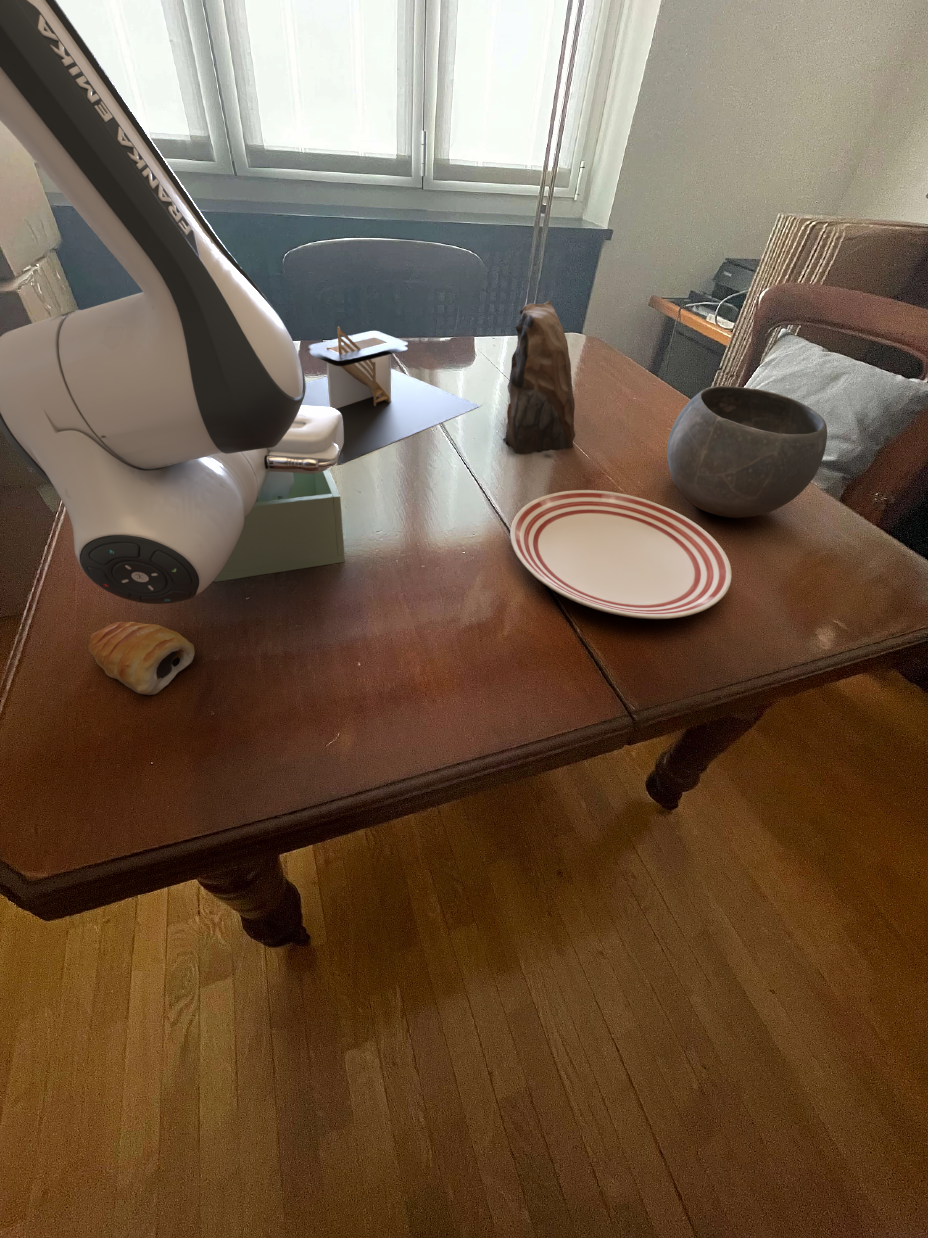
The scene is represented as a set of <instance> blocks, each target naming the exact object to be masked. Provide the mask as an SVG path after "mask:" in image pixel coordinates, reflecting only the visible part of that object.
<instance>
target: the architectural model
mask: <svg viewBox="0 0 928 1238" xmlns="http://www.w3.org/2000/svg"><path fill="white" fill-rule="evenodd" d="M336 330H337V338H333V339H329V340H326V341H322V342H316V343H312V344H309V345H308V348H309V349H310V350H309V351H308V352H309V353H310V355H312V356H313V357H315V358H316V359H319V360H322V361H324V362H325V363H326V376H324V377H320V378H317V379H314V380H310V381H307V382H306V381H305V385H306V390H305V396H304V399H303V402H302V405H301V406H315V407H330V408H334V409H336V410H337V411H339V412H340V413H341V415H342V419H343V430H344V443H343V447H342V449H341V451H340V455H339V458H338V462H337V464H336V465H342V464H345V463H346V462H349V461H352V460H354V459H357V458H359V457H362V456H364V455H366V454H368V453H372V452H373V451H376V450H378V449H380V448H383V447H386V446H388V445H391V444H393V443H395V442H398V441H400V440H402V439H405V438H408V437H410V436H412V435H415V434H417V433H419V432H421V431H424V430H426V429H429V428H431V427H433V426H436V425H440V424H441V423H444V422H446V421H448V420H450V419H454V418H455V417H456V418H457V417H458V416H460V415H463V414H465V413H468V412H470V411H472V410H473V411H474V410H475V409H478V408H480V407H481V405H480V404H478V403H475V402H473V401H471V400H468V399H465V398H463V397H461V396H458V395H456V394H454V393H451V392H449V391H446V390H444V389H441V388H439V387H436V386H434V385H432V384H429V383H427V382H425V381H422V380H421V379H418V378H415V377H413V376H410V375H409V374H405V373H403V372H401V371H399V370H396V369H394V368H392V354H396V353H399V352H403V351H407V350H409V348H408V347H407V345H408V344H409V342H408V341H405V340H402V339H400V338H397V337H394V336H391V335H389V334H386V333H384V332H381V331H378V330H369V331H365V332H359V333H356V334H351V335H346V333H344V331H342V330H341V327H340V326H337V327H336Z"/></svg>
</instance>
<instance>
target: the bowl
mask: <svg viewBox="0 0 928 1238" xmlns="http://www.w3.org/2000/svg"><path fill="white" fill-rule="evenodd" d="M827 426H828V425H827V422H826V420H825V419H824V418H823V417H822V416H821V414H819V412H817V411H816V410H815V409H813V408H811V407H810V406H808V405H806V404H804V403H802V402H800V401H799V400H796V399H794V398H792V397H789V396H786V395H783V394H781V393H776V392H772V391H769V390H763V389H759V388H750V387H743V386H732V385H715V386H709V387H707V388H704V389H702V390H701V391H700V392H698V393H697V394H696V395H694V396H692V398H691V399H690V400H689V401H688V402H687V403H686V405H685V406H684V407H683V408H682V410H681V411H680V412H679V414H678V416H677V418H676V419H675V421H674V423H673V425H672V427H671V429H670V432H669V436H668V440H667V446H666V460H667V466H668V470H669V473H670V476H671V479H672V481H673V483H674V486H675V488H676V489H677V491H678V492H679V493H680V494H681V495H682V497H684V499H685V500H686V501H688V502H689V503H690V504H691V505H693V506H694V507H696V508H698V509H699V510H701V511H703V512H707V513H709V514H712V515H715V516H720V517H724V518H736V519H737V518H739V519H740V518H750V517H755V516H756V517H757V516H761V515H765V514H769V513H771V512H774V511H775V510H778V509H779V508H782V507H784V506H786V505H787V504H788V503H790V502H792V501H793V500H794V499H796V498H797V497H798V496H800V494H802V493H803V492H804V491H805V489H806V488H807V487H808V486H809V484H810V483H811V482H812V480H814V478H815V476H816V475H817V473H818V470H819V469H820V466H821V464H822V461H823V458H824V455H825V452H826V448H827V441H828V427H827Z"/></svg>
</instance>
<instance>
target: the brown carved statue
mask: <svg viewBox="0 0 928 1238" xmlns="http://www.w3.org/2000/svg"><path fill="white" fill-rule="evenodd" d="M519 314H520V319H519V322H518V323H517V325H516V326H515V331H516V335H517V344H516V348H515V350H514V352H513V354H512V356H511V367H510V368H511V369H510V373H509V378H508V379H509V380H508V383H507V391H508V394H509V403H508V404H507V405H508V406H507V411H506V412H507V413H506V414H507V415H506V419H507V423H506V425H505V436H504V437H505V438H503V439H502V440H503V442H504V443H505V445H506V446H508V447H509V448H510V449H511V450H512V451H513V452H514V454H517V455H530V454H533V453H543V452H549V451H560V450H561V451H562V450H564V449H571V448H573V447H574V440H575V437H576V431H575V409H576V405H575V404H576V403H575V397H574V390H573V381H572V379H573V377H572V365H571V358H570V352H569V345H568V339H567V336H566V334H565V331H564V328H563V325H562V323H561V322H560V318H559V316H558V314H557V312H556V309H555V307H554V306H553V305H552V301H550V300H547V301H545V302H544V303H532V302H531V303H527V304H525V305H524V306H523V307H522V308H521V310H519Z"/></svg>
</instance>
